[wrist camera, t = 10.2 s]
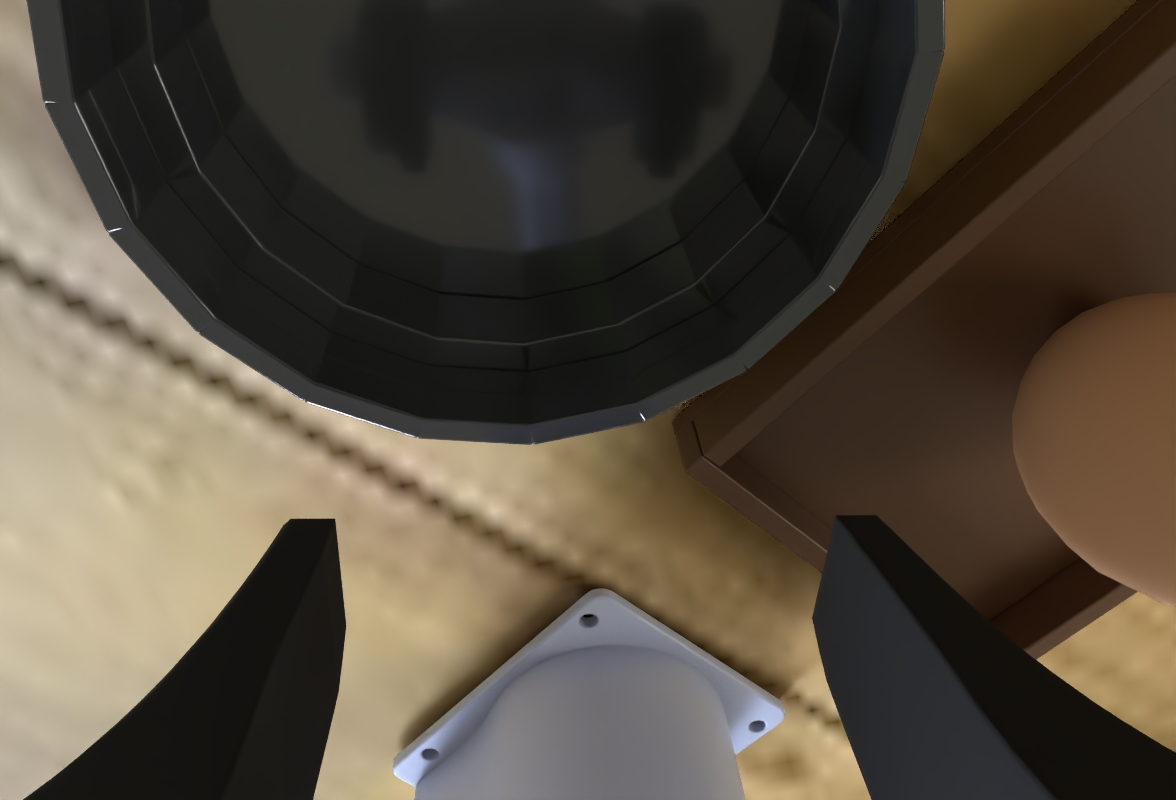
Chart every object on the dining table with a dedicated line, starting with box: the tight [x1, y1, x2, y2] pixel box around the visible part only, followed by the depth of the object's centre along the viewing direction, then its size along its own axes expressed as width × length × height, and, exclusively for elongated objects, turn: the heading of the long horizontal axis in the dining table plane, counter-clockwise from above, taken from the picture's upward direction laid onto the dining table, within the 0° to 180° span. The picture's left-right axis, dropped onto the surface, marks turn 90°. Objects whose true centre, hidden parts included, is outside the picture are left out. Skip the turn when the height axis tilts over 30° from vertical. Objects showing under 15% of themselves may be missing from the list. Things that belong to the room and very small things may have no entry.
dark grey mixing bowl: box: [27, 0, 945, 445], centre depth 18 cm, size 14×14×4 cm
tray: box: [672, 0, 1176, 660], centre depth 24 cm, size 16×12×2 cm
